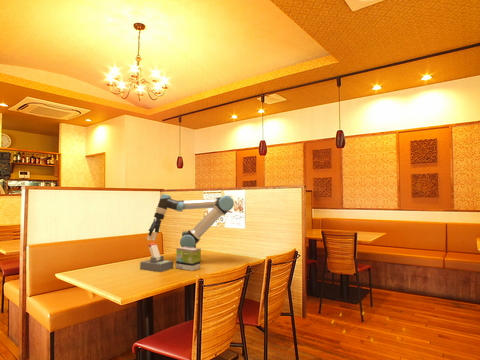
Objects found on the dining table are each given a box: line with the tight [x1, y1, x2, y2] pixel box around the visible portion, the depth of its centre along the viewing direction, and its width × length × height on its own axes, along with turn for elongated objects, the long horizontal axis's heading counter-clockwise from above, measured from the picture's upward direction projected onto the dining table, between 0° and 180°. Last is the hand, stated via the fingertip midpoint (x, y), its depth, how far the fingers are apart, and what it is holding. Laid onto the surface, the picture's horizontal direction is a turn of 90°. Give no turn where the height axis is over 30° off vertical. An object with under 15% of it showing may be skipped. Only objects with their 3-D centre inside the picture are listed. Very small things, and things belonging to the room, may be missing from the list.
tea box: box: [175, 246, 202, 272], centre depth 219 cm, size 15×10×15 cm, turn 62°
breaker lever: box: [147, 242, 162, 261], centre depth 218 cm, size 3×6×13 cm, turn 157°
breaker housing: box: [139, 255, 174, 273], centre depth 217 cm, size 18×14×8 cm
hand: (150, 240), depth 233 cm, fingers open, 13 cm apart
